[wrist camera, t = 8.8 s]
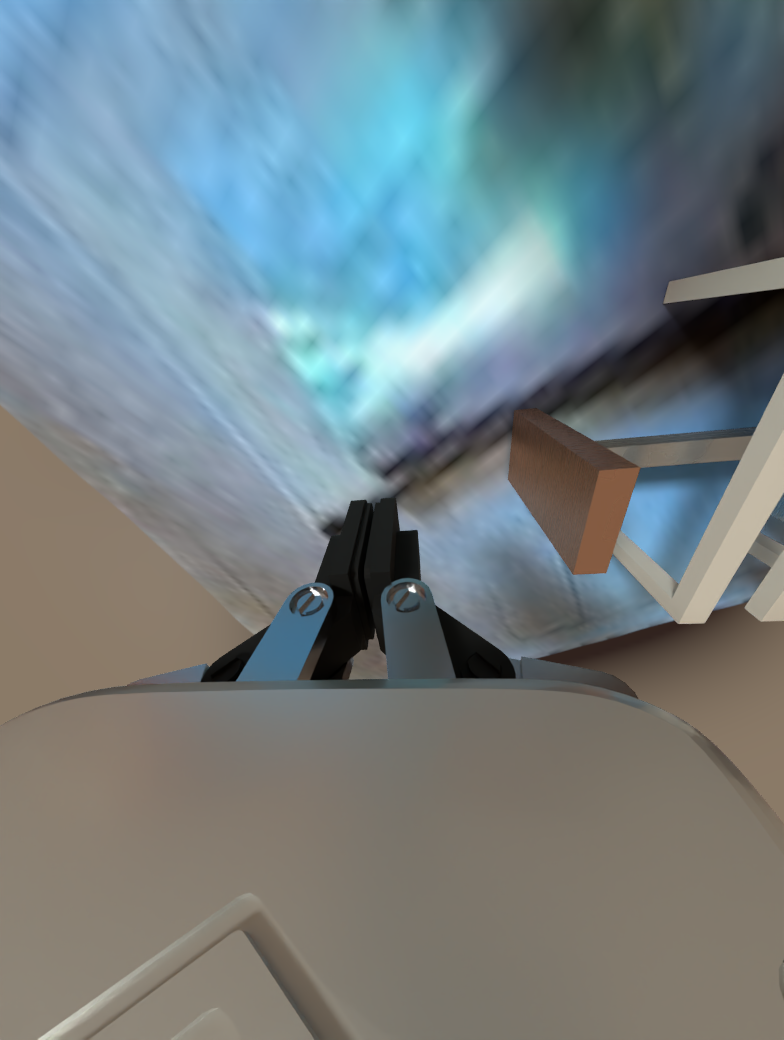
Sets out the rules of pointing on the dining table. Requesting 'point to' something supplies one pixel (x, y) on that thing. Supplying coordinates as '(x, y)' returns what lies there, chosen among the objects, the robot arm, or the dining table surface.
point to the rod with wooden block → (598, 479)
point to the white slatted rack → (728, 491)
